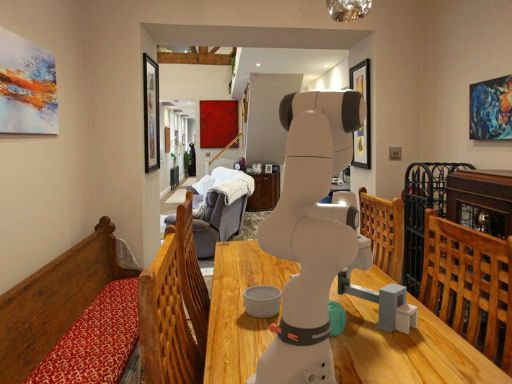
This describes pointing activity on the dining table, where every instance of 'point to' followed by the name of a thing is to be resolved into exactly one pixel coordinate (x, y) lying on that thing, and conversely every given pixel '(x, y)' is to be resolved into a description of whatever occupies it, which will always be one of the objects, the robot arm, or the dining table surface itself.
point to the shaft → (355, 289)
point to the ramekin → (262, 301)
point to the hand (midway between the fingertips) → (343, 277)
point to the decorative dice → (336, 318)
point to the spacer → (406, 317)
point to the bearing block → (390, 305)
